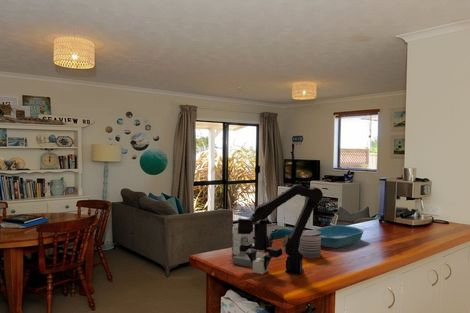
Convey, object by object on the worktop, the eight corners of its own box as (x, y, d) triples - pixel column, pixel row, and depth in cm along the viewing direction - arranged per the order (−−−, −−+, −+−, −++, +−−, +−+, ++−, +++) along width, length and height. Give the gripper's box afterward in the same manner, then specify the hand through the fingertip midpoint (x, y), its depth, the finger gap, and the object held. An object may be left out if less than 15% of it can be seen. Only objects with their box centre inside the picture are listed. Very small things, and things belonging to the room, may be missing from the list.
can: (319, 259, 177) (319, 235, 177) (296, 256, 181) (296, 233, 181) (321, 252, 188) (322, 230, 188) (300, 250, 192) (300, 228, 192)
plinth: (266, 261, 173) (266, 254, 173) (255, 267, 162) (255, 261, 162) (245, 257, 179) (245, 251, 179) (232, 263, 168) (232, 257, 168)
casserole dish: (335, 252, 191) (335, 238, 190) (302, 243, 207) (302, 231, 207) (369, 241, 215) (369, 229, 215) (337, 234, 232) (337, 223, 232)
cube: (267, 270, 159) (267, 259, 158) (262, 274, 154) (262, 262, 154) (257, 268, 161) (257, 257, 161) (252, 272, 157) (252, 260, 157)
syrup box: (238, 251, 188) (238, 224, 188) (247, 254, 184) (247, 226, 184) (231, 254, 184) (231, 226, 183) (240, 256, 180) (240, 227, 180)
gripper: (287, 233, 160) (286, 267, 160) (250, 228, 169) (250, 260, 169) (277, 238, 150) (276, 275, 150) (238, 232, 160) (238, 267, 160)
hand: (260, 269), depth 158 cm, fingers closed on cube, 5 cm apart
